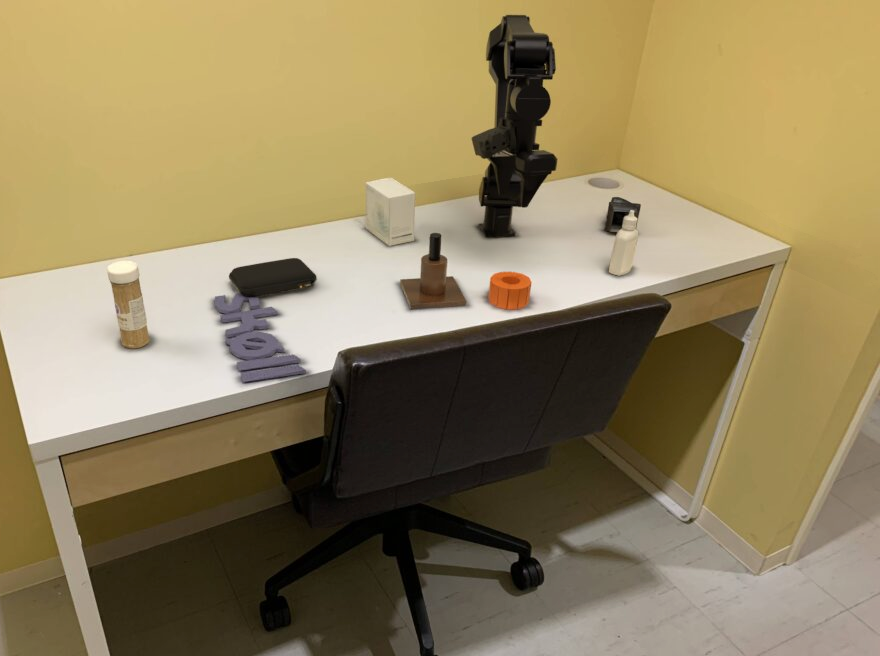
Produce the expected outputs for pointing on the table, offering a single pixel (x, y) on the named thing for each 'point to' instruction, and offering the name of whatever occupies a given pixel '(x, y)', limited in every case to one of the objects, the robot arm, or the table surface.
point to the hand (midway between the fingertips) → (512, 200)
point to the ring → (509, 290)
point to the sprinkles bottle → (129, 303)
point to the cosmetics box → (390, 211)
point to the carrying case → (272, 277)
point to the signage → (254, 340)
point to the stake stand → (433, 281)
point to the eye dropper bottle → (624, 246)
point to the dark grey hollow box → (619, 213)
